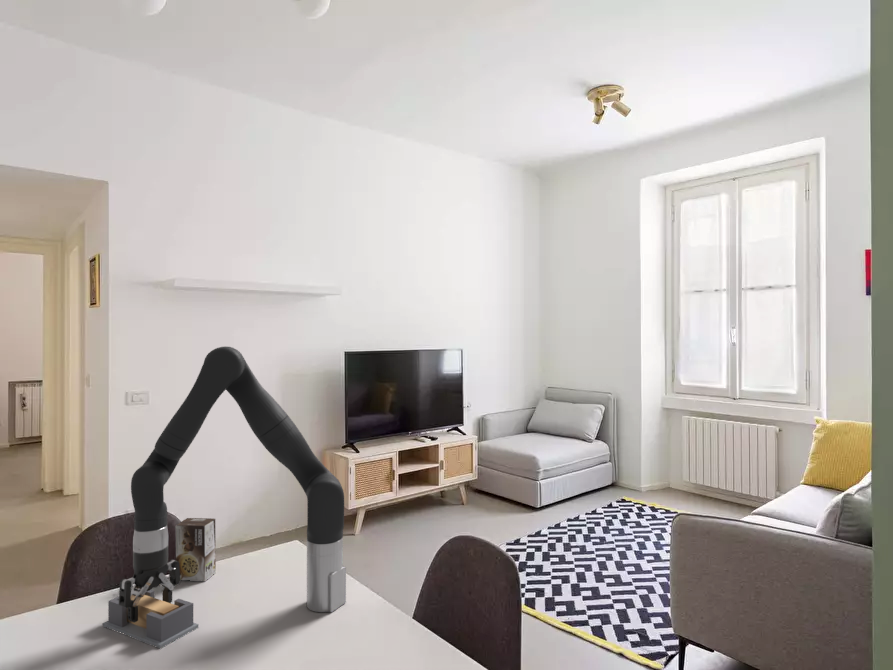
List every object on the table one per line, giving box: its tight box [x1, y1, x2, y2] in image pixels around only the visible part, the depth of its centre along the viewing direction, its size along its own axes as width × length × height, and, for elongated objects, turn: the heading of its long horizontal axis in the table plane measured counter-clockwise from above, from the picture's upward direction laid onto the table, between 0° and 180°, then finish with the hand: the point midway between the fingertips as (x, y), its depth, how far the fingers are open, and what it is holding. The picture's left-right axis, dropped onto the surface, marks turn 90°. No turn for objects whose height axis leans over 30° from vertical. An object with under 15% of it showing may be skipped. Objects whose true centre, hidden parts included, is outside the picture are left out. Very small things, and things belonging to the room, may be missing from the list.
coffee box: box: [174, 517, 217, 582], centre depth 160 cm, size 9×6×16 cm
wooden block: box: [127, 595, 179, 629], centre depth 132 cm, size 15×4×5 cm, turn 63°
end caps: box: [102, 589, 199, 649], centre depth 132 cm, size 21×10×6 cm, turn 63°
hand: (150, 613), depth 132 cm, fingers open, 8 cm apart
